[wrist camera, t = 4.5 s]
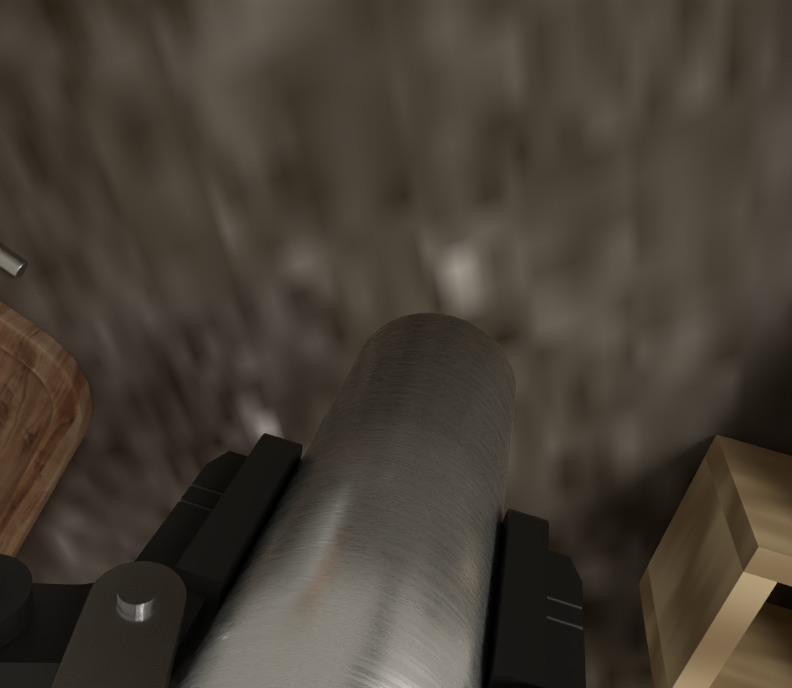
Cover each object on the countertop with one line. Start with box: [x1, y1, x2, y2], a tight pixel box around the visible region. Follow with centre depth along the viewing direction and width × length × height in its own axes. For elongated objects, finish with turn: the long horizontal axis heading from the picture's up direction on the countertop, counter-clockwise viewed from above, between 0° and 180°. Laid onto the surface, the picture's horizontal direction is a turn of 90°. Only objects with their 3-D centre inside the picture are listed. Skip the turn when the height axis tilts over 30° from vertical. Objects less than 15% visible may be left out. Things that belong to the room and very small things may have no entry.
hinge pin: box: [176, 313, 516, 688], centre depth 12 cm, size 4×4×13 cm
